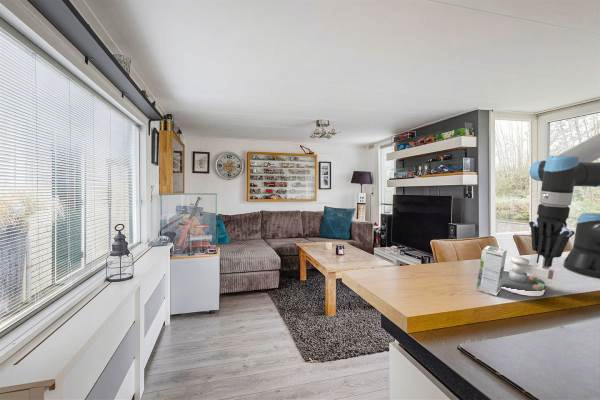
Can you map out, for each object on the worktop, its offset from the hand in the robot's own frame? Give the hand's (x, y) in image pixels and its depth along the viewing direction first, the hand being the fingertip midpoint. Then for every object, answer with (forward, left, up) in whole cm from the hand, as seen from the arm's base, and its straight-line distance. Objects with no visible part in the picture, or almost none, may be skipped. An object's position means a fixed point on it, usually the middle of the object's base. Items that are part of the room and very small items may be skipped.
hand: (542, 274), depth 93 cm
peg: (+4, -1, 0) cm, 4 cm away
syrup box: (+18, 0, -6) cm, 19 cm away
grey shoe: (+6, -3, -5) cm, 8 cm away
